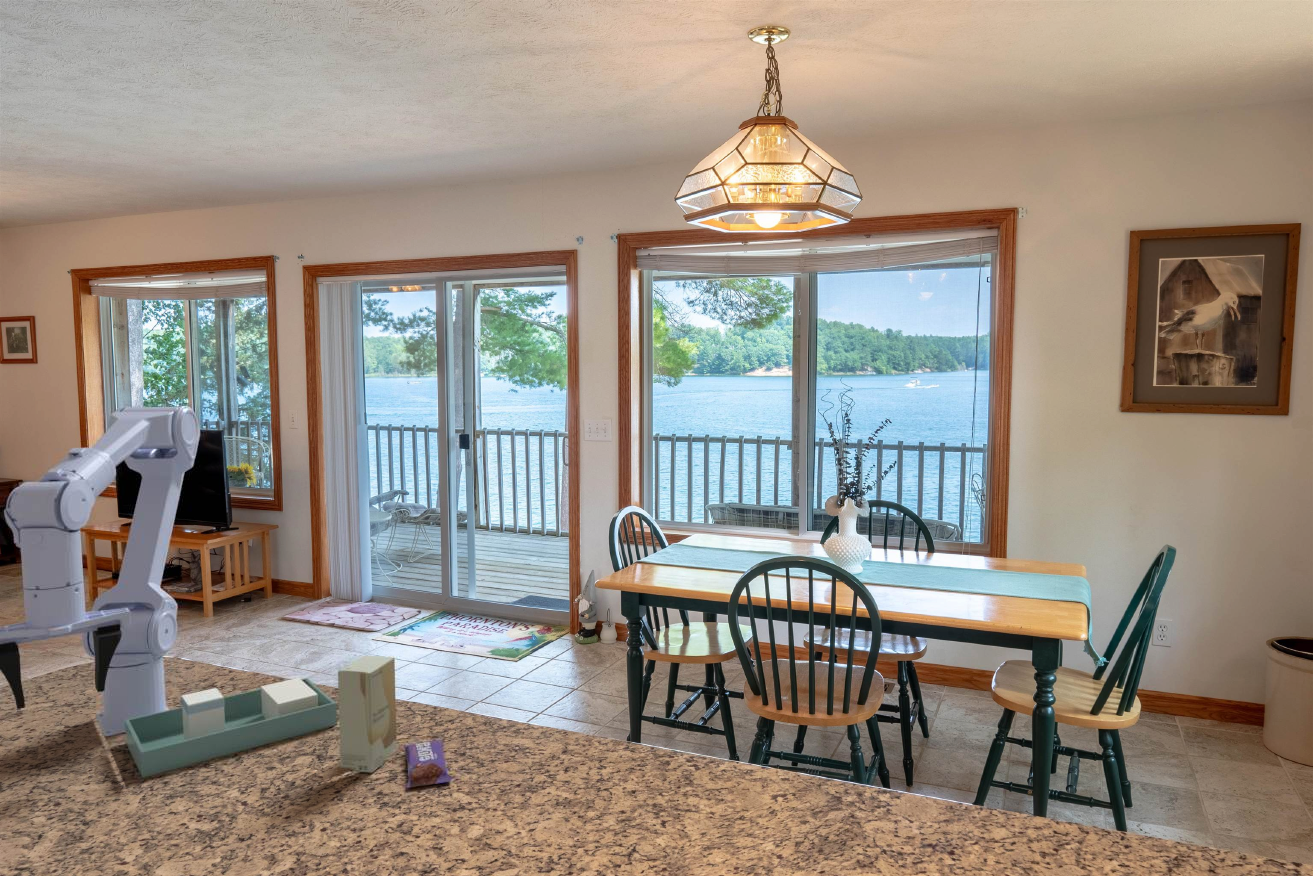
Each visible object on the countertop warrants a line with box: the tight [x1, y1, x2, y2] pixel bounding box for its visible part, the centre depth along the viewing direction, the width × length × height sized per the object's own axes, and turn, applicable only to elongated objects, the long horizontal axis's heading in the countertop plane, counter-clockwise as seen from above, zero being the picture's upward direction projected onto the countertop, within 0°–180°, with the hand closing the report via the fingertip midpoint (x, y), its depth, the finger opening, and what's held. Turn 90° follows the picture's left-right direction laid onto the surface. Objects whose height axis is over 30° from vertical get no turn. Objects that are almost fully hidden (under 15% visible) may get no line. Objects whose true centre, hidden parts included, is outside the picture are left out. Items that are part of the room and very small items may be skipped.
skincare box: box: [337, 655, 398, 773], centre depth 103 cm, size 6×4×12 cm
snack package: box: [404, 740, 452, 789], centre depth 102 cm, size 12×2×5 cm
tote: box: [125, 677, 338, 779], centre depth 110 cm, size 12×22×4 cm, turn 130°
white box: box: [260, 677, 318, 719], centre depth 114 cm, size 8×5×4 cm, turn 40°
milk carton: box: [180, 687, 225, 740], centre depth 107 cm, size 4×4×6 cm
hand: (61, 697), depth 99 cm, fingers open, 7 cm apart
